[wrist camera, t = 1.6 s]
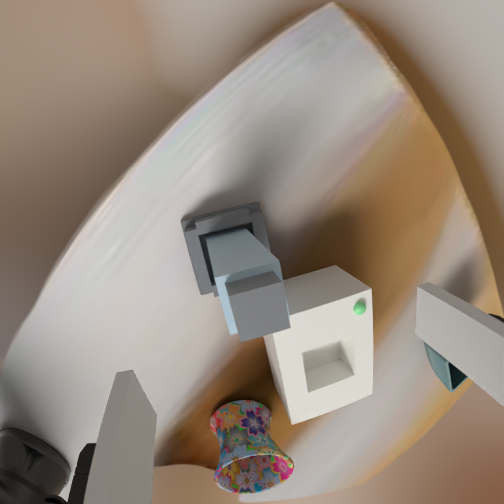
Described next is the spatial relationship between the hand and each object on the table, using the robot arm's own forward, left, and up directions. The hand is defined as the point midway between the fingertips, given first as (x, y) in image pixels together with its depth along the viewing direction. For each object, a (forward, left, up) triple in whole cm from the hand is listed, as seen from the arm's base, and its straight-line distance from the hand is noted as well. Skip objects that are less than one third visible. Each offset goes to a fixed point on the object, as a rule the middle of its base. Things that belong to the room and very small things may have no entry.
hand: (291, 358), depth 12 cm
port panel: (+6, -12, -21) cm, 25 cm away
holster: (0, 0, -21) cm, 21 cm away
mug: (-5, -25, -21) cm, 33 cm away
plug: (0, 0, -20) cm, 20 cm away
